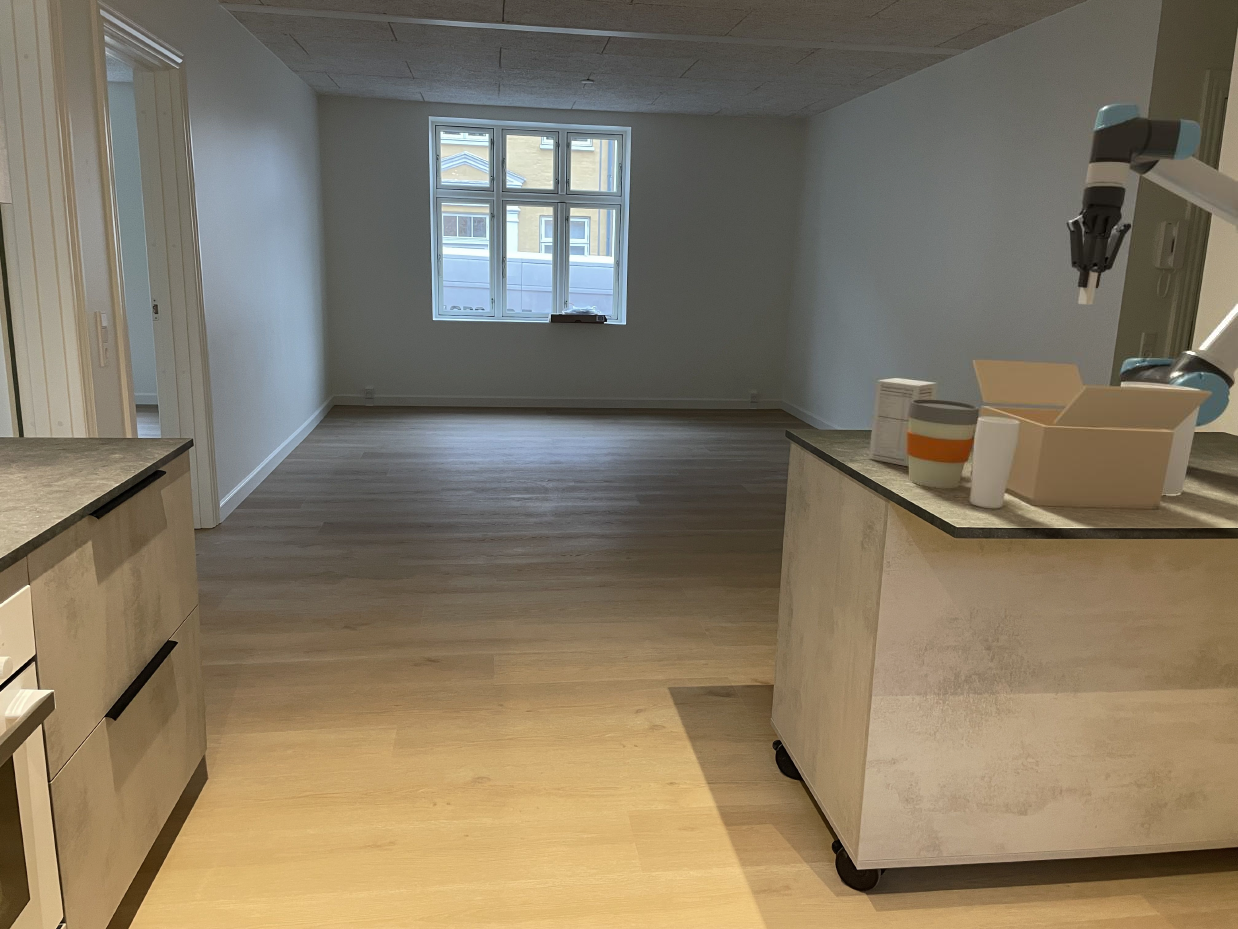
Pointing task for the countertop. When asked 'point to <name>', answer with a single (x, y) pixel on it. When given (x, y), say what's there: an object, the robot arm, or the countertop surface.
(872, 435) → the supplement box
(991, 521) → the countertop surface
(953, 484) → the reusable coffee cup
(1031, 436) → the carton
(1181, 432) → the canister
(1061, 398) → the flap
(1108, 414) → the flap
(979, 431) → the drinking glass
